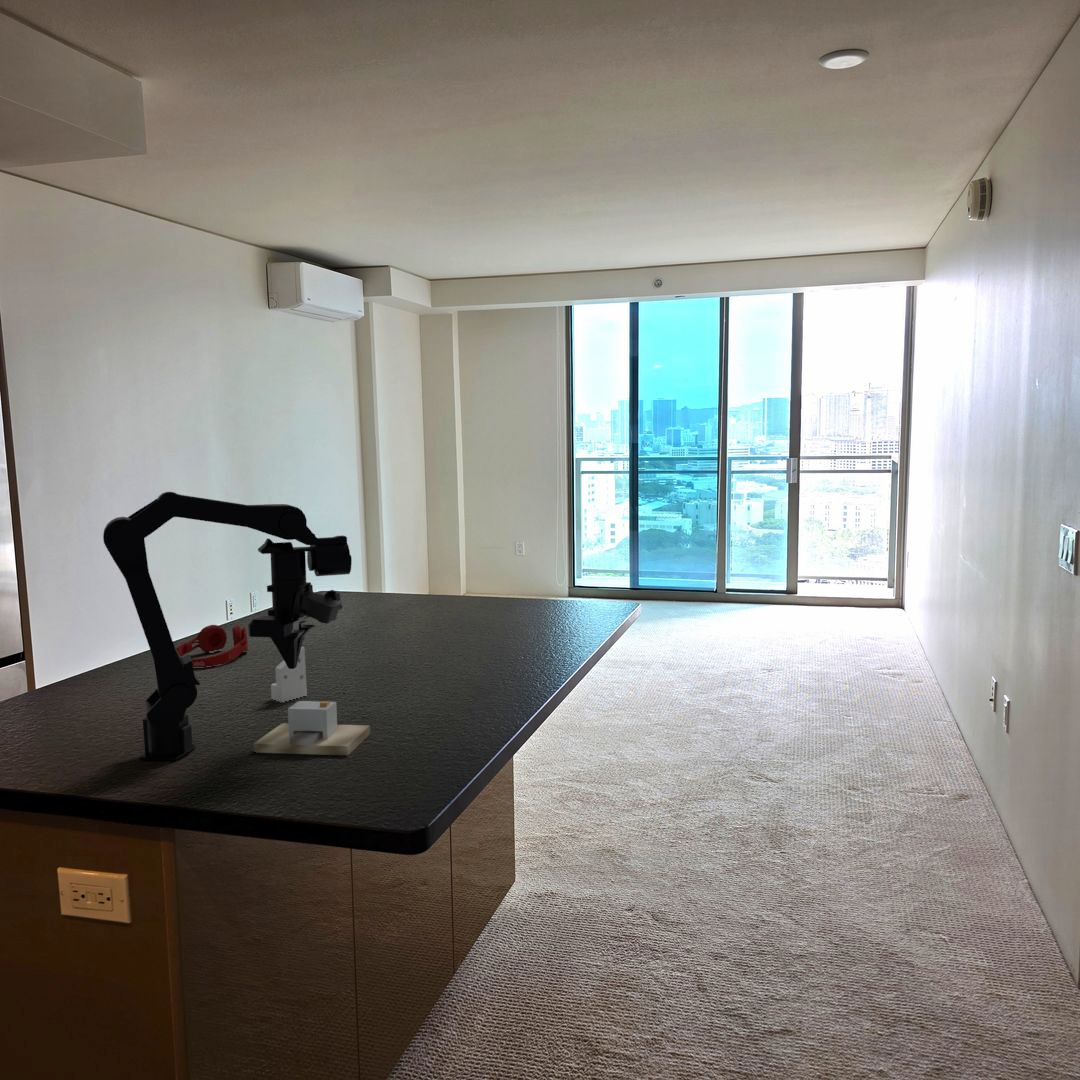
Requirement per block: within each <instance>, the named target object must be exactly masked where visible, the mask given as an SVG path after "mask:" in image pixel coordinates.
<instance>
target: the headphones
mask: <svg viewBox="0 0 1080 1080" xmlns="http://www.w3.org/2000/svg"><path fill="white" fill-rule="evenodd" d="M231 629H232V638H233V639H232V641H233V647H232V648H230V649H228V650H226V651H224V652H222V653H219V654H217V655H216V654H215V655H211V656H208V657H200V658H191V660H192V663H193V667H206V666H213V665H218V664H222V665H224V663H225V664H227V663H229V662H231V661H233V660H234V659H236V658H237V657H239V656H240V654H241V653H243V651H245V652H246V651H249V643H248V642H249V641H248V634H247V629H246V626H243V628H241V625H234V626H233V628H231ZM227 635H228V634H227V632H226V630H225V629H224V628H223V627H222V626H220V625H217V624H210V625H207V626H205V627H203V628H202V629H201V630H200V631H199V633H198V634H197V636H196V637H193V638H192V639H190V640H189V641H188V642H187V641H186V642H183V643H182V644H180V645H178V646H177V647H175V648H176V650H177V652H178V653H179V655H180V657H181V658H182V657H184V656H185V655H187V653H188V654H189V653H191V652H192V651H194V650H196V649H197V648H200V650H201V651H203V653H204V652H205V653H206V652H209V651H214V650H219V649H222V648H224V647H225V646H226V643H227V641H228V636H227ZM193 644H196V645H194V646H193ZM222 650H223V649H222ZM243 654H244V653H243ZM241 655H242V654H241Z"/></svg>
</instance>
